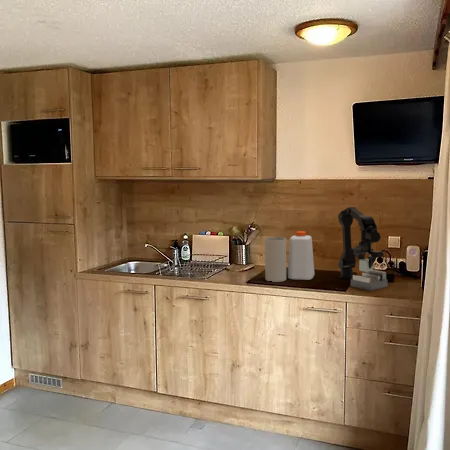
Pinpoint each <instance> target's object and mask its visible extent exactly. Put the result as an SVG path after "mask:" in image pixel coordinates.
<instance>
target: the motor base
mask: <svg viewBox="0 0 450 450" xmlns="http://www.w3.org/2000/svg"><path fill="white" fill-rule="evenodd" d="M350 287H354V288H358V289H362V290H365V291H371V292H372V291H375V290H379V289H380V290H381V289H383V288H387V287H388V279H387V272H386V271H382V270H376V269H373V271H368V272H365V271H364V272H362V273H361V275H357V274H353V278H350Z"/></svg>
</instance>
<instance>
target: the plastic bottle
mask: <svg viewBox="0 0 450 450" xmlns="http://www.w3.org/2000/svg"><path fill="white" fill-rule="evenodd" d="M312 238H313V237H312V236H311V235H307V231H304V230H301V231H299V230H298V231H296V232H295V235H292V236H291V237H290V238H289V246H288V247H289V248H288V265H287V266H288V267H287V278H288V279H290V280H295V281H296V280H297V281H309V280H312V279H313V278H314V277H315V264H314V250H313V239H312Z"/></svg>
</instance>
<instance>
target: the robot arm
mask: <svg viewBox="0 0 450 450" xmlns="http://www.w3.org/2000/svg"><path fill="white" fill-rule="evenodd" d="M337 218H338V223H339V224H340V226H341V230H342V233H341V234H342V249H343V251H342V253H341V255H340V260H339V262H338V263H337V267H338V268H339V269H340V276H338V278H340V279H344V280H349V279H350V280H351V279H353V275H354V270H353V268H354V269H355V268H356V263H357V260H358V261H359V260H361V259H365V257H366V255H369V256H367V259H369V269H370V268H371V267H372V265H374V263H375V261H376V259H377V258H381V257H384V252H383V251H381V250H374V248H373V247H372V246H373V245H372V244H374V243H378V242H379V241H380V240H381V237H382V236H381V234H380V232H378V228H377V224H376V222H375V219H374V217H372V216H370V215H366V214H364V213H362V212H361V211H360V210H359V209H357V208H356V207H355V206H350V207H349V206H348V207H346V208H345V209H344V210H341V211H340V212H339V213H338V215H337ZM354 219H355V221H357V222H358V223H357V224H358V226H359V227H360V228H359V231H360V241H359V242H358V245H356V246H354V247H352V233H351V232H352V230H351V227H352V224H353V223H354ZM356 257H357V260H356Z"/></svg>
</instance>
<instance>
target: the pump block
mask: <svg viewBox="0 0 450 450" xmlns="http://www.w3.org/2000/svg"><path fill="white" fill-rule="evenodd" d="M358 261H359V262H358V263H359V265H358V268H359V270H358V271H361V272H364V273H365V272H368V271H373V270H374V269H373V268H374V267H373V265H374V264H373V265H372V267H371V268H370V269H369V259H368V258H364V259H361V260H359V259H358Z"/></svg>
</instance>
